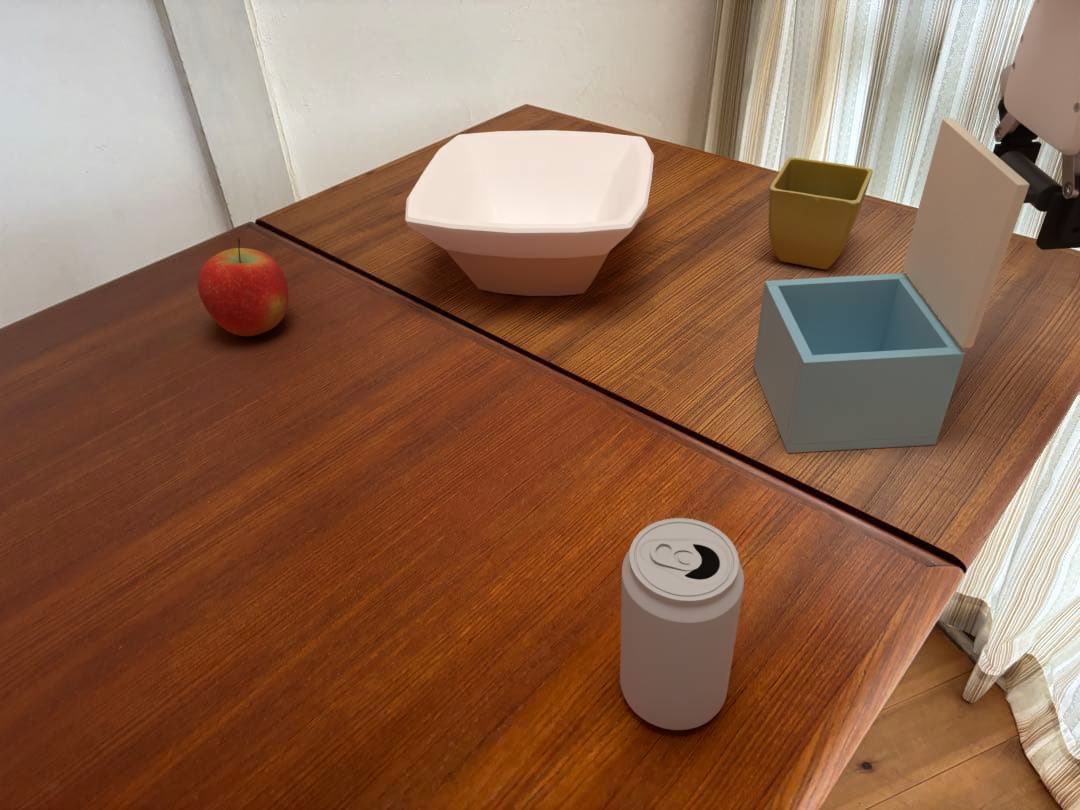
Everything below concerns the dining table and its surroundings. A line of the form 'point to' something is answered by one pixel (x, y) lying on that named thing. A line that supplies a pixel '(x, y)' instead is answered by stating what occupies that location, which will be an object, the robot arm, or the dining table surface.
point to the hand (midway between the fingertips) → (1029, 218)
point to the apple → (243, 291)
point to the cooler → (854, 363)
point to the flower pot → (814, 210)
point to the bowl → (532, 205)
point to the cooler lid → (969, 225)
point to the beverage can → (679, 622)
